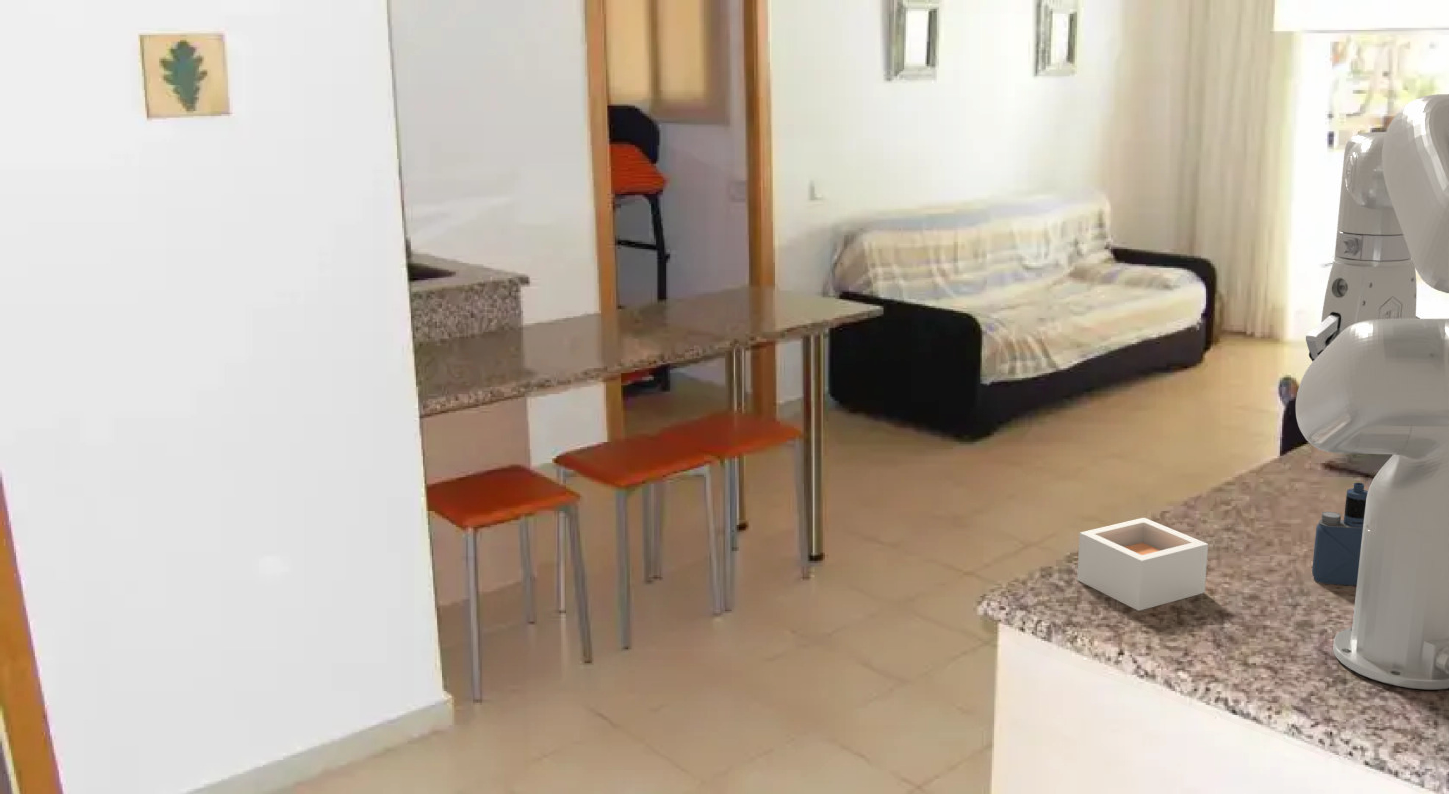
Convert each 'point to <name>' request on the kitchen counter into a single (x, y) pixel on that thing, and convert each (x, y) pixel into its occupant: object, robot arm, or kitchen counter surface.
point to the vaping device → (1340, 541)
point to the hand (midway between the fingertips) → (1357, 400)
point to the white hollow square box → (1142, 563)
